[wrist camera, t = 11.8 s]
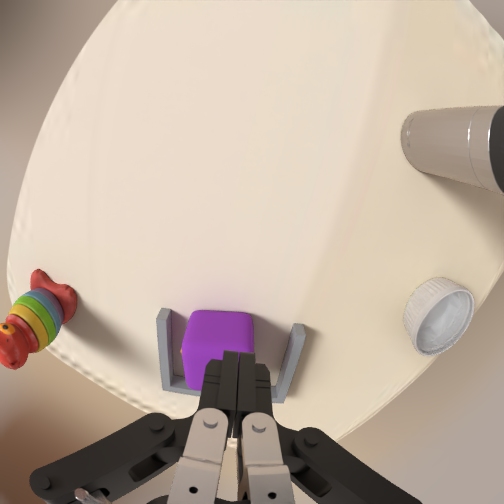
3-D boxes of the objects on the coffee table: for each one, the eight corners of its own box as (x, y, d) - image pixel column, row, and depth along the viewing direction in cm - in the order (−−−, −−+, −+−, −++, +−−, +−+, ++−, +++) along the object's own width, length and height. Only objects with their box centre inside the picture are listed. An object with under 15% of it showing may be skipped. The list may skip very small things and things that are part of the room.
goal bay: (302, 324, 42) (306, 335, 39) (282, 391, 48) (283, 403, 45) (161, 307, 41) (156, 318, 38) (166, 378, 47) (162, 390, 44)
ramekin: (444, 255, 39) (468, 273, 32) (459, 303, 42) (479, 322, 36) (386, 303, 41) (405, 327, 35) (409, 345, 45) (425, 368, 39)
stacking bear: (78, 290, 40) (20, 355, 23) (75, 331, 43) (30, 396, 27) (34, 264, 38) (-29, 315, 22) (34, 307, 42) (-16, 360, 25)
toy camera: (200, 370, 46) (192, 414, 37) (179, 307, 41) (163, 350, 32) (261, 366, 46) (263, 410, 36) (250, 300, 41) (250, 344, 31)
